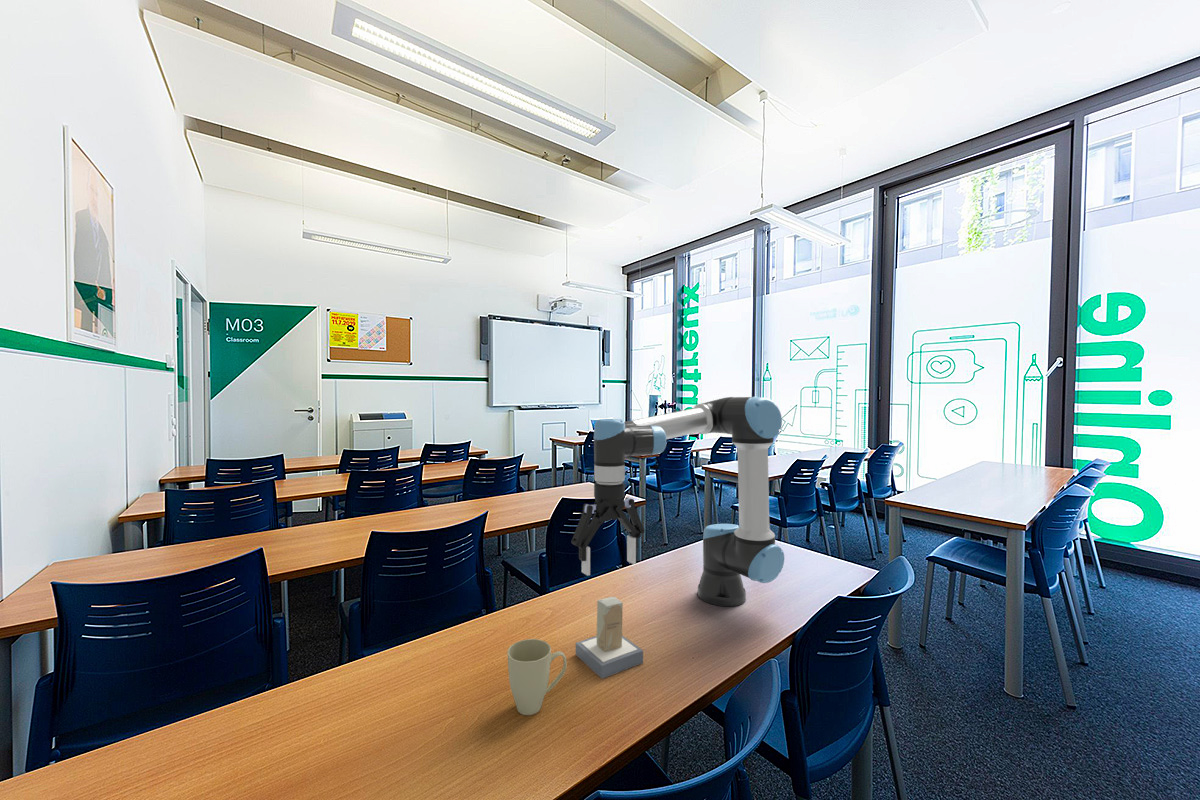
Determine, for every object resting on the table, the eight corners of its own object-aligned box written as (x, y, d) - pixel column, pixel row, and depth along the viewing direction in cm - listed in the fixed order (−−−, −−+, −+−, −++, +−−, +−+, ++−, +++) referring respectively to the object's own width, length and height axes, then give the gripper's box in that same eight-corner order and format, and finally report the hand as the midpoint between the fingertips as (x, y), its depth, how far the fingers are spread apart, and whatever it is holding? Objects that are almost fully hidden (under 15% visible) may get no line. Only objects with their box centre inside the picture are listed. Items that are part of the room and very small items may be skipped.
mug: (535, 730, 90) (535, 668, 90) (498, 711, 96) (498, 653, 96) (568, 699, 100) (568, 643, 100) (532, 684, 105) (532, 631, 105)
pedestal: (614, 641, 124) (614, 629, 124) (643, 662, 114) (643, 649, 113) (575, 654, 117) (575, 642, 117) (601, 678, 107) (601, 665, 107)
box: (604, 652, 112) (604, 606, 112) (595, 644, 116) (596, 599, 116) (623, 646, 115) (623, 601, 115) (614, 638, 119) (614, 595, 119)
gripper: (639, 475, 125) (639, 554, 125) (557, 484, 111) (557, 573, 111) (658, 479, 119) (658, 562, 119) (572, 490, 105) (573, 584, 105)
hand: (609, 568), depth 115 cm, fingers open, 13 cm apart
